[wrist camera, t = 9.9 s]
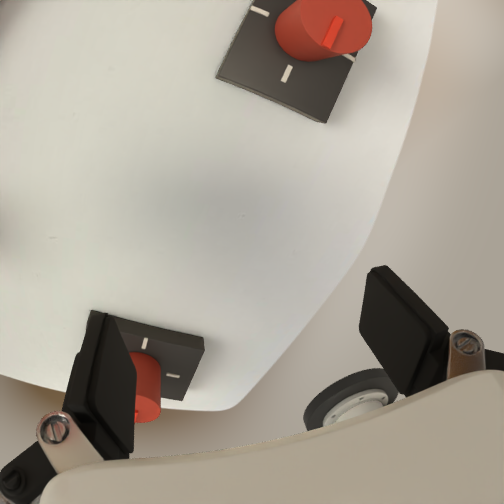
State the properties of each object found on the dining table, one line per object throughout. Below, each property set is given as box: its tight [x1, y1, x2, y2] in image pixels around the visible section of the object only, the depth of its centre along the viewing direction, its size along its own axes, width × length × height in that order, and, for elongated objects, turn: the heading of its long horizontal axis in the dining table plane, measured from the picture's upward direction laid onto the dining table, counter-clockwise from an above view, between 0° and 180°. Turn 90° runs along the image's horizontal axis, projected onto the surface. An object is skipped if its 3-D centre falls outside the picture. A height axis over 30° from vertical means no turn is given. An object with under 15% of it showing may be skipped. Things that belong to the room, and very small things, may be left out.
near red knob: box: [129, 352, 161, 424], centre depth 27 cm, size 5×5×6 cm
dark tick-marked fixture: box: [86, 310, 205, 401], centre depth 31 cm, size 12×9×2 cm
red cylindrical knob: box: [275, 0, 372, 62], centre depth 16 cm, size 5×5×6 cm
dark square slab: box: [216, 0, 377, 123], centre depth 20 cm, size 12×9×2 cm
